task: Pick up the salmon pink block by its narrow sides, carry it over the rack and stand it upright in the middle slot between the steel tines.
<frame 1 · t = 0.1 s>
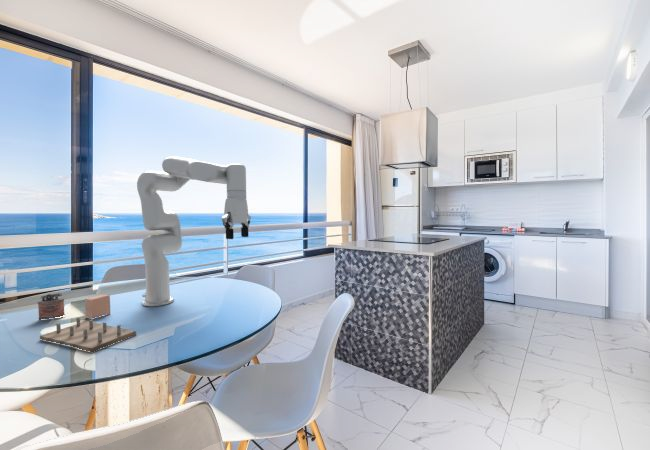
hand: (237, 237, 123), 31 cm above the table, tool pointing down, fingers open, 9 cm apart
salmon pink block: (98, 316, 123), on the table
lighter: (52, 319, 121), on the table
rack: (88, 337, 102), on the table
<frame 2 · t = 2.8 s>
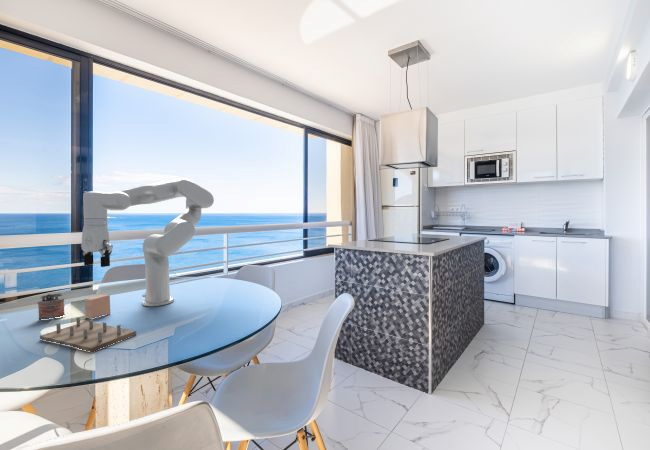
hand: (97, 265, 122), 21 cm above the table, tool pointing down, fingers open, 9 cm apart
nothing on the table moved.
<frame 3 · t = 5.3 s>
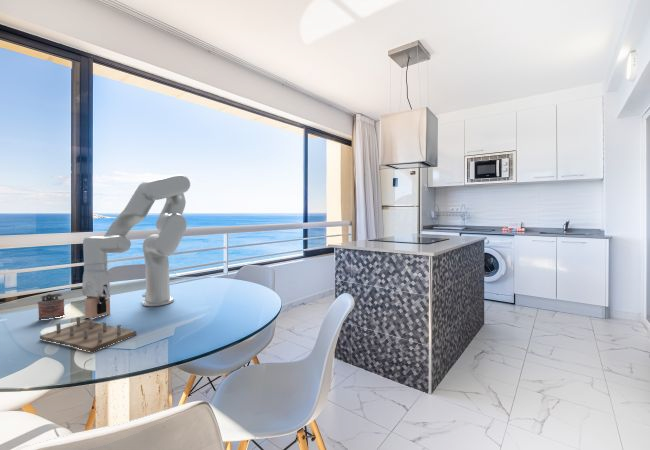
hand: (97, 311, 123), 2 cm above the table, tool pointing down, fingers closed on salmon pink block, 4 cm apart
salmon pink block: (98, 316, 123), on the table, touching gripper
everything else where it was.
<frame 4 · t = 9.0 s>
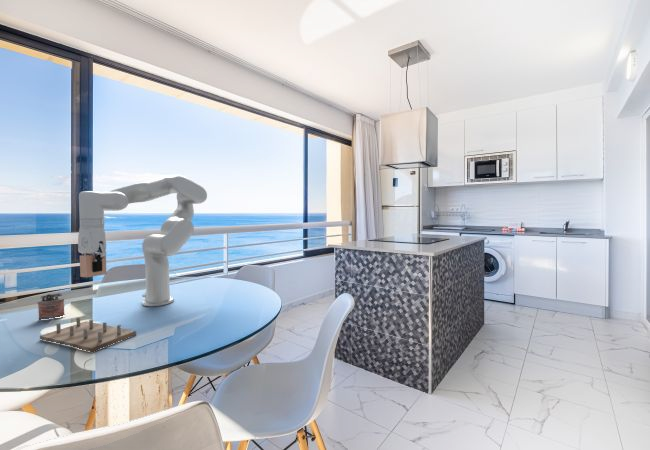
hand: (93, 270, 118), 19 cm above the table, tool pointing down, fingers closed on salmon pink block, 4 cm apart
salmon pink block: (93, 275, 118), point 18 cm above the table, touching gripper
everything else where it was.
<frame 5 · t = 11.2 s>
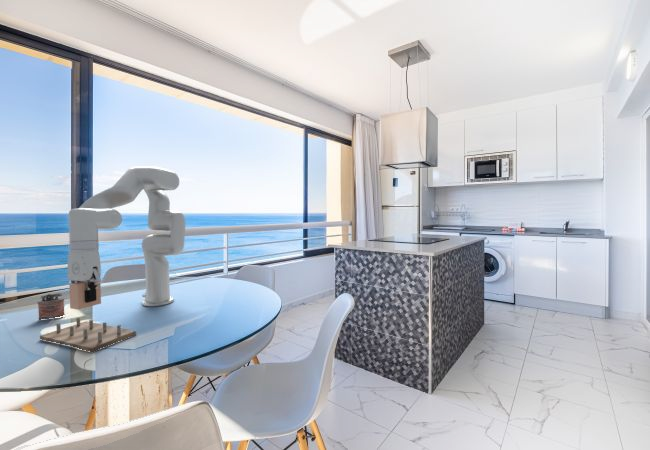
hand: (86, 300, 101), 13 cm above the table, tool pointing down, fingers closed on salmon pink block, 4 cm apart
salmon pink block: (86, 305, 101), point 11 cm above the table, touching gripper
everything else where it was.
when the fingers open (5 cm above the table, at t = 12.9 s): salmon pink block drops 2 cm, resting on rack.
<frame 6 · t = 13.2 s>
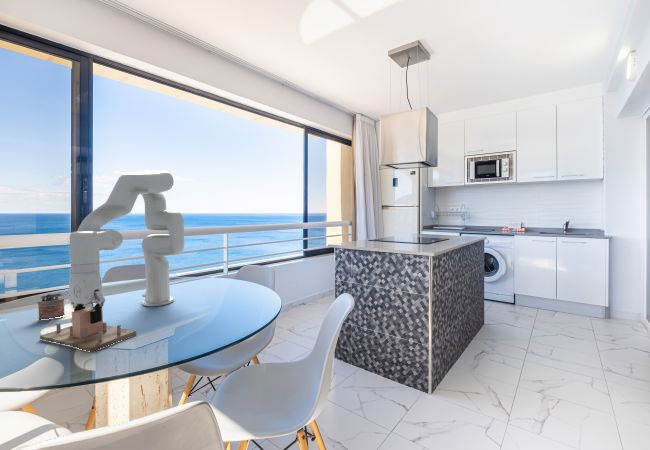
hand: (88, 320, 102), 6 cm above the table, tool pointing down, fingers open, 7 cm apart
salmon pink block: (88, 333, 102), point 1 cm above the table, touching rack
everything else where it was.
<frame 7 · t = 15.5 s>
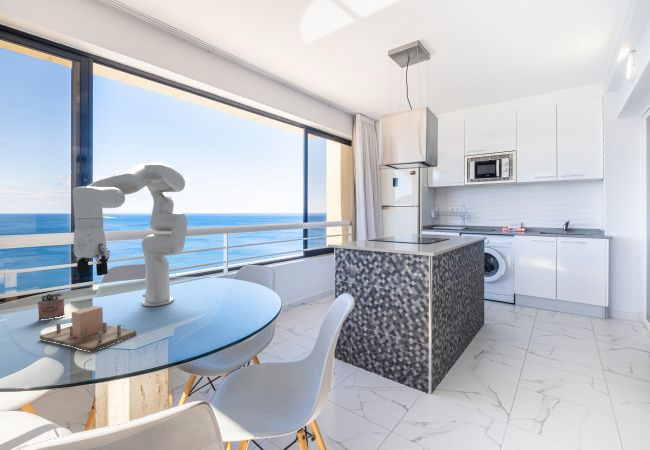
hand: (92, 273, 104), 21 cm above the table, tool pointing down, fingers open, 9 cm apart
nothing on the table moved.
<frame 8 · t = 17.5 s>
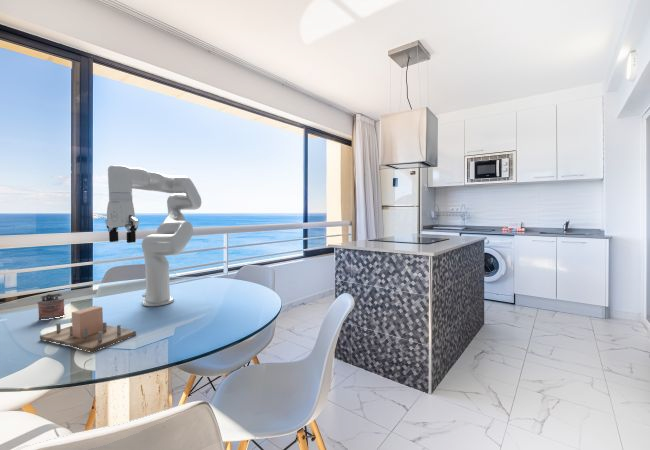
hand: (122, 242, 119), 30 cm above the table, tool pointing down, fingers open, 9 cm apart
nothing on the table moved.
at the end: salmon pink block 0.1 cm off-centre on the rack, point 1.5 cm above the rack's base; salmon pink block tilted 0°; the gripper is holding nothing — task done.
